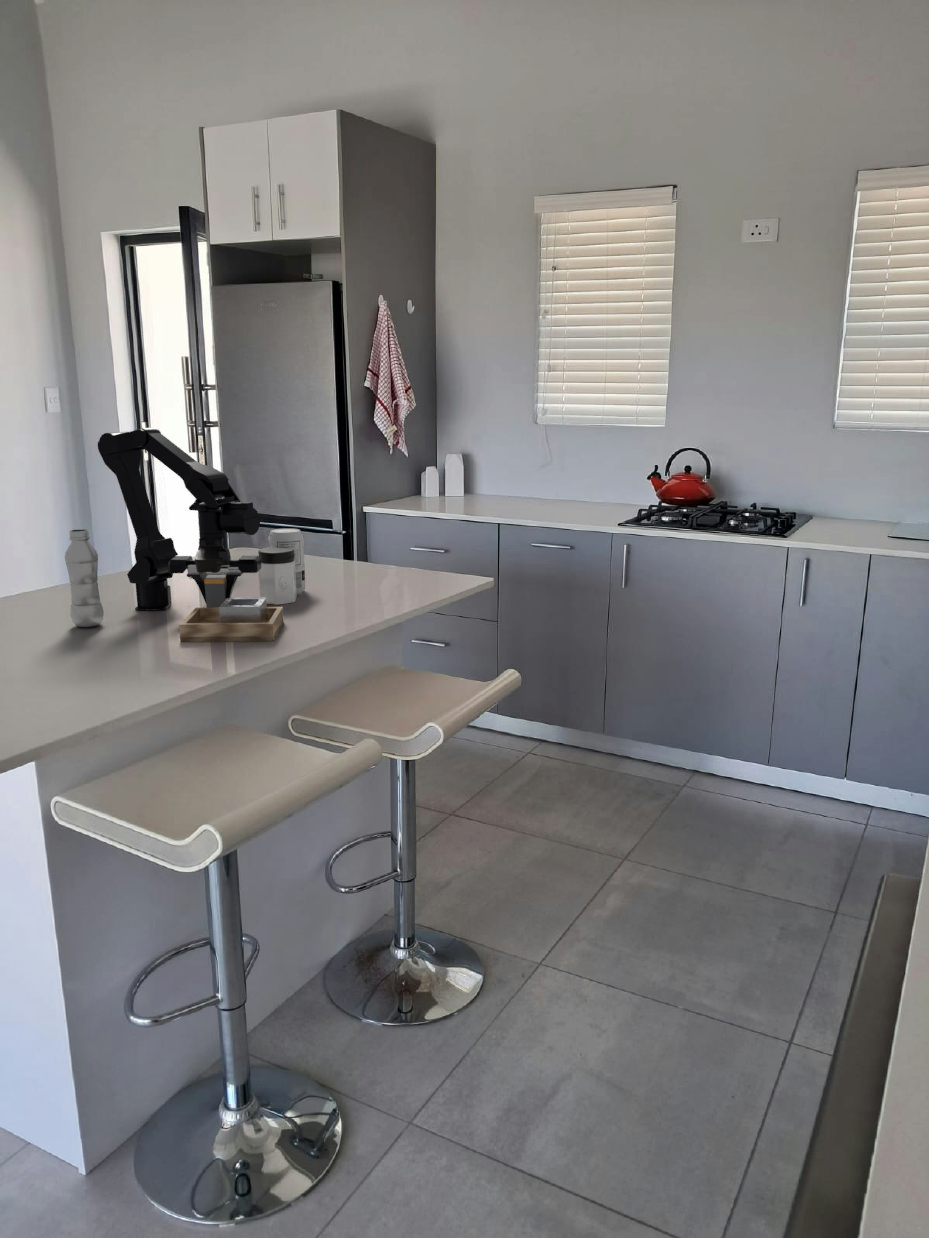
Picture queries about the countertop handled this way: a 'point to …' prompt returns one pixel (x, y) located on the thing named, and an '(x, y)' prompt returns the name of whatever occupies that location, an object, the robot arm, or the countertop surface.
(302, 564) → the supplement can
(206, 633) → the oak box
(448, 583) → the countertop surface
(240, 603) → the socket
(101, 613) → the plastic bottle
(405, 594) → the countertop surface
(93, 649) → the countertop surface
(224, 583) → the block
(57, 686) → the countertop surface
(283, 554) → the jar
